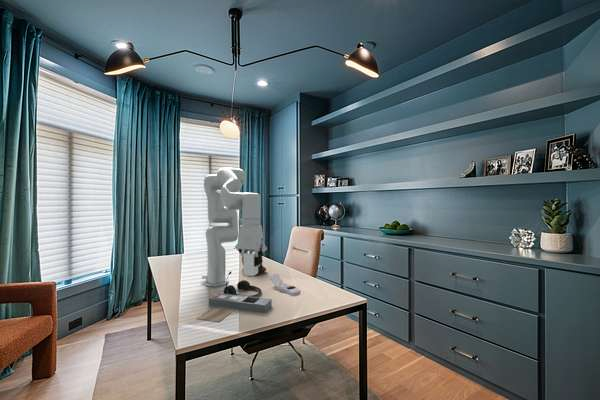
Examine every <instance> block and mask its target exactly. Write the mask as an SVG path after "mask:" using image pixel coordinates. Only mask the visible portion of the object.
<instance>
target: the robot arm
mask: <svg viewBox="0 0 600 400" xmlns="http://www.w3.org/2000/svg"><path fill="white" fill-rule="evenodd" d="M203 179H204V180H203V188H204V192H205V194H206V198H207V219H208V222H209V223H211V224H226V225H213V226H209V227H208V228H207V229H206V231H205V238H206V244H207V246H206V247H207V248H206V249H207V251H206V252H207V271H206V272H207V274H205V273H202V276H201V278H202V279H203V280H205V281H204V285H205V286H207V287H221V286H226V280H227V284H229V279H228V278H227V277H226V250H225V247H224V246H223V245H222V244H223V243H225V244H226V243H233V242H236V241H237V243H236V244H235V247H234V248H235V249H236V250H237V251H238V252H239V254H240V256H242V257H241V263H242V264H243V253H246V252H247V250H254V252H255V257H254V266H255V267H256V266H258V265H259V262H260V255H261V254H262V253H263V254H264V252H266V251H267V250H268V247H267V246H266V244H265V242H264V233H263V228H262V225H261V195H260V194H259V193H257V192H256V193H255V192H240V191H241V189H242V186H243V185H244V184H245V182H246V179H247V177H246V173H245V171H244V170H243V169H241V168H237V167H236V168H235V167H222V168H219V170H217V172H216V174H214V173H213V174H208V175H206V176H205V177H204V178H203ZM237 210H239V211H241V218H240V219H239V218H238V211H237ZM238 219H239V220H238ZM238 222H239V223H241V225H239V223H238ZM260 248H262V250H260ZM202 279H201V280H202Z"/></svg>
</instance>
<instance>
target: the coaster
mask: <svg viewBox="0 0 600 400" xmlns="http://www.w3.org/2000/svg"><path fill="white" fill-rule="evenodd" d="M231 313H234V312H233V310H231V309H230V310H228V309H222V308H221V309H220V308H214V307H213V308H212V307H211V308H209V309H208V310H207V311H205V312H203V313H202V314H201V315H199V316H197V317H196V318H195V319H196V320H200V321H208V322H214V323H221V321H223V320H224V319H225V318H227V317H228V316H229V315H231Z"/></svg>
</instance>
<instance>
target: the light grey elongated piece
mask: <svg viewBox="0 0 600 400" xmlns="http://www.w3.org/2000/svg"><path fill="white" fill-rule="evenodd" d="M268 278H269V279H270V280H271V282H272V284H273V285H274V287H275V290H277V291H279V292H280V293H282V294H285V295H286V294H287V295H290V296H292V297H293V296H296V295H298V296H299V295H301V292H302V290H301V289H300V288H298V287H296V286H295V285H290V284H288V283H286V282H284V281H283V280H282V278H281V277H280V275H279V274H278V273H271V274H268Z"/></svg>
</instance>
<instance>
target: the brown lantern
mask: <svg viewBox="0 0 600 400" xmlns="http://www.w3.org/2000/svg"><path fill="white" fill-rule="evenodd" d="M260 250H262V248H260ZM248 251H249V250H247V252H248ZM252 252H254V250H252ZM263 255H264V252H263V253H262V254H261V255H260V262H259V265H258V273H257V274H256V276H259V274H263V273H265V272H266V271H267V268H266V266H263V262H264V261H263ZM241 272H242V273H243V268H242V271H241Z"/></svg>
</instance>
